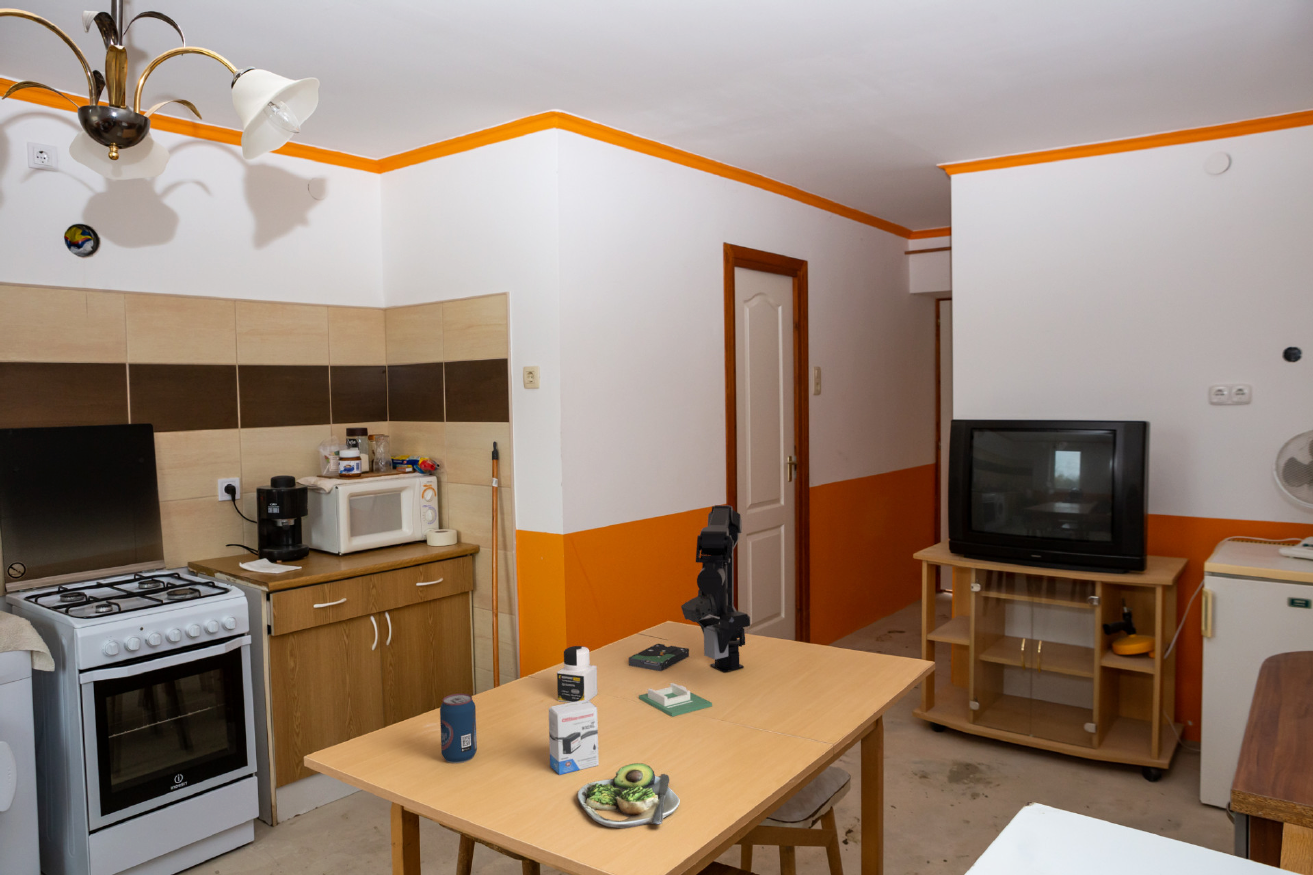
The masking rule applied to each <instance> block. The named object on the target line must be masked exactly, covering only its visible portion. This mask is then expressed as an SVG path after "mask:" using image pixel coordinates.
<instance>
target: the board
mask: <svg viewBox="0 0 1313 875" xmlns="http://www.w3.org/2000/svg"><path fill="white" fill-rule="evenodd" d="M669 685H670V686H669V687H665V688H660V689H657V690H655V689H653V688H648V689H647V693H643V694H639V695H638V699H639V700H640V701H642V702H644V703H646V704H648V705H649V706H652V707H653V708H655V709H658V710H660V712H662V713H664V714H666V715H668V716H670V717H672V718H673V717H677V716H680V715H681V716H682V715H685V714H688V713H692V712H695V711H700V710H702V709H706V708H710V707H713V702H711V701H710V700H707V699H705V698H703V697H701V696H700V695H697V694H696V693H693V692H691V691H690V690H688V689H687V687H685V686H683V685H679V684H676V683H674V682H672V683H671V682H670V683H669Z"/></svg>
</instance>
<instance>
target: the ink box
mask: <svg viewBox="0 0 1313 875" xmlns="http://www.w3.org/2000/svg"><path fill="white" fill-rule="evenodd" d="M598 723H599V722H598V706H596V705H595V704H594V703H592V701H591V700H582V701H577V702H572V703H570V702H565V703H563V704H557V705H551V706H550V707H548V734H549V736H548V738H549V744H548V745H549V766H550V768H551V769H553V771H554V772H556V773H557V775H559V776H561V775H565V774H569V773H572V772H577V771H581V770H585V769H586V770H587V769H590V768H592V767H593V768H594V767H596V766H597V767H598V766H599V764H600V763H599V729H598V728H599V727H598Z"/></svg>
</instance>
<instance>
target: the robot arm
mask: <svg viewBox="0 0 1313 875" xmlns="http://www.w3.org/2000/svg"><path fill="white" fill-rule="evenodd" d="M707 517H708V518H707V526H706V527H703V528H702V529H701V530H700V532H699V534H697V538H696V553H695V563H698V564H699V563H701V570H700V572H699V573H698V575H697V578H696V585H697V588H698V591H697V595H696V597H693V598H691V599H690V600H687V601H685V602H684V603H683V604H682V605H680V606H681V607H680V608H681V610H682V614H683V617H684V619H685V620H686V621H687V620H689V621H691V622H692V623H697V624H698V625H699V627H700V629H701V632H702V634H703V635H704V628H706V627H707V626H711V625H714V626H713V627H714V628H715V630H716V631H717V633H718V645H719V652H720V653H724V652H725V649H726V647H727V645H728V657H724V658H719V659H714V663H710V664H709V666H710V668H714V669H716V670H718V671H720V672H723V673H728V672H731V671H737V670H740V669H744V667H745V666H744V665H743V664H741V663H740V651H739V650H740V649H739V648H740V647H743V646H745V645H746V633H745V628H748V627H750V626H751V616H749V614H748V613H745V612H742V611H739V610H737V609H736V608H735V606H734V549H735V547H736V545H737V543H738V542H739V540H740V534H742V529H743V521H742V516H741V513H739V512H737V511H736V510H734V509H733V506H732V505H730V504H729V505H728V504H721V505H720V504H719V505H716V504H715V505H712V507H711V511H710V512H709V513H708V515H707ZM716 624H718V625H716Z"/></svg>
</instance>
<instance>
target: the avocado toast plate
mask: <svg viewBox="0 0 1313 875" xmlns="http://www.w3.org/2000/svg"><path fill="white" fill-rule="evenodd" d="M669 784H670V776H669V775H668V774H666V773H661V774H660V775H659V776H658V775H655V771H654V770H653V768H652V767H651V766H650V765H648V764H645V763H641V762H639V763H638V762H635V763H629V764H626V765H624V766H622V767H620V768H619V769H618V770H617V771H616V772H615V776H614V777H613V778H608V779H603V780H598V781H597V780H596V781H592V782H589V783H586V784H584V785H583V786H581V787H580V789H579V790H578V791H577V801H578V804H579V806H580V807H581V808H582V809H584V811H585V812H586V814H587V815H588V816H589V817H590V818H591V819H593V821H594V822H596V823H598V824H600V825H602V826H605V827H609V828H616V829H628V828H629V829H630V828H631V829H632V828H635V827H640V826H644V825H651V824H653V825H662V824H663V821H664V818H665V817H668V816H669V815H671V814H673V813H674V812H675V811H676V810H677V809H678V807H679V806H680V802H681V800H680V798H679V796H678V795H677V794H676V793H675V792H674V791H673V790H672V789H671V788H670V787H669ZM597 811H614V812H615V811H616V812H619V813H622V814H623V816H625V817H627V818H625V819H622V820H614V819H609V818H606V817H603V816H601V815H600V814H599V813H598V812H597Z"/></svg>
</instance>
